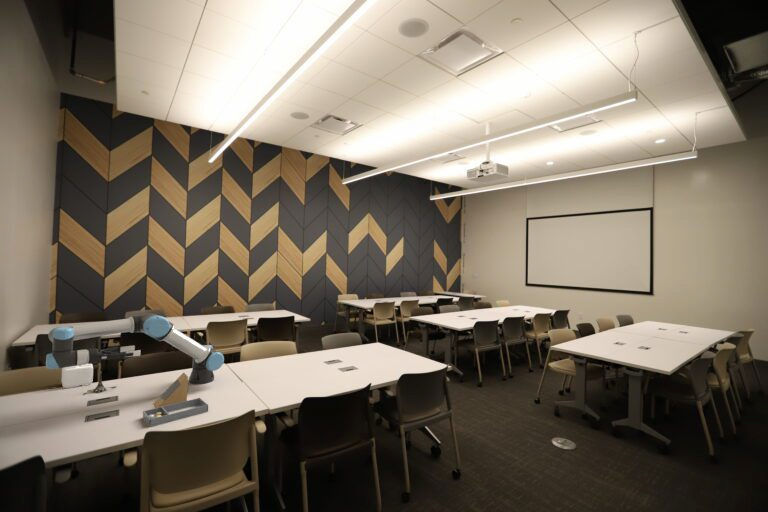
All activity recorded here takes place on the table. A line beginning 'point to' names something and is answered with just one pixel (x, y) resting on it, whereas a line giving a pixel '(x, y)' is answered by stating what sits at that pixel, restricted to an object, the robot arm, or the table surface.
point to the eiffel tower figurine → (99, 387)
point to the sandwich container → (174, 393)
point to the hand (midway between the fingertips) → (137, 350)
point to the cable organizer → (77, 375)
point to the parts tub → (162, 416)
